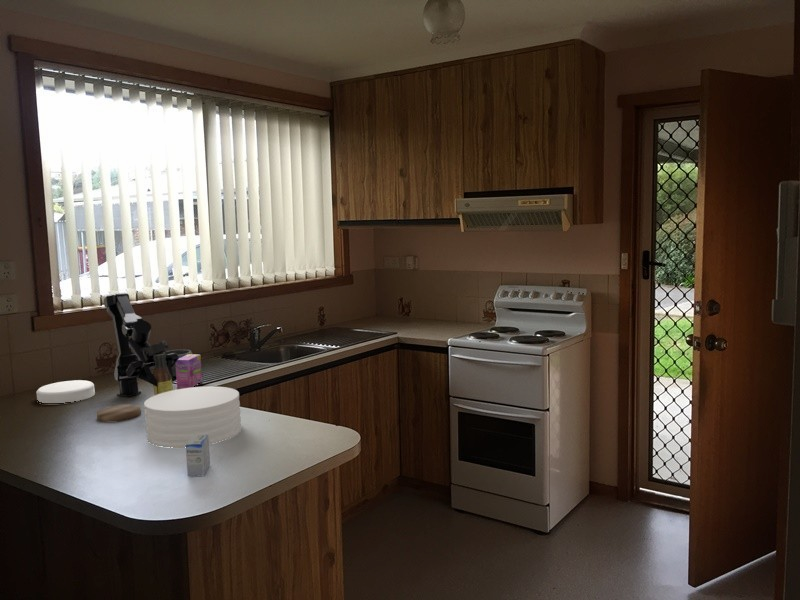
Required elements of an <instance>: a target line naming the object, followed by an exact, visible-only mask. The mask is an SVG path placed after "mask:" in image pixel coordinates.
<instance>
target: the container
mask: <svg viewBox="0 0 800 600" xmlns="http://www.w3.org/2000/svg"><path fill="white" fill-rule="evenodd" d="M35 392H36V401H37V400H38V401H39V402H42V403H64V404H66V403H65V402H71V403H75V402H74V401H76V402H80V400H81V401H84V400H87V399H90V398H92V397H94V396H95V394H96V392H95V384H94V383H93V382H92V381H89V380H82V379H77V380H76V379H74V380H66V381H57V382H54V383H52V382H51V383H49V384H45V385H42V386H41V387H39V388H38V389H37V390H36V391H35ZM38 401H37V402H38Z"/></svg>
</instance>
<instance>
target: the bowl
mask: <svg viewBox="0 0 800 600" xmlns="http://www.w3.org/2000/svg"><path fill="white" fill-rule="evenodd" d="M163 353H165V355H166V354H171V353H176V354H177V355H178V356H179V358H181V357H183V356H185V355H188V354H193V352H192V350H190V349H172V350H166V352H163ZM172 373H173V377H176V364H175V365H174V367H172Z"/></svg>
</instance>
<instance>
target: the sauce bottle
mask: <svg viewBox="0 0 800 600" xmlns="http://www.w3.org/2000/svg"><path fill="white" fill-rule="evenodd" d="M153 358H154V362H155V367H154V370H153V372H152V375H153V376H154V378H155V379H156V381H157V383H158V386H154V385H153V384H152V386H153V394H154V395H153V396H155V395H158V394H161V393H164V392H168V391H172V390H174V389H173V388H174V387H173V382H172V378H171V374H170V372H169V370H168V368H167V365H166V359H165V358H166V355H165V353H158V354H154V355H153Z"/></svg>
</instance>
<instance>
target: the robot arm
mask: <svg viewBox="0 0 800 600" xmlns="http://www.w3.org/2000/svg"><path fill="white" fill-rule="evenodd" d="M103 306H104V307H105V308H106V312H107V314H108V315H109V316H110V318H112V321H113V328H114V332H115V337H116V344H117V350H118V357H117V360H116V361H115V367H114V373H113V375H114V380H115V381H117V382H118V386H119V389H118V390H119V393H116V396H119V397H127V398H129V397H132V396H135V395H138V394H141V393H142V391H140V390H139V382H138V379H140V380H142V381H145V382H147V383H149V384H151V385H152V386H153V385H154V386H158V383H157V381H156V379H155V378H154V376H153V372H151V369H153V368H155V362H154V358H153V355H154V354H158V353H163V352H166V351H168V350H169V347H170V346H169V344H168V342H167V341H166V340H162V341H159V343H155V344H150V343H149V342H148V341H149V339H150V336H151V331H152V325H151V323H150V322H148V321H146V320H144V318H143V317H141V316H140V315H137V314H136V313H135V310H134V308H133V306H132V303H131V300H130V294H129V293H128V292H117V293H114V294H108V295H106V297H104V299H103ZM165 359H166V365H167V368H168V370H169V372H170V374H171V378H172V383H174V381H175V379H174V376H173V373H172V367H174V365H175V364H176V362H177V360H178V359H179V356H178V355H177V354H176V353H171V354H166V358H165Z"/></svg>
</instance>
